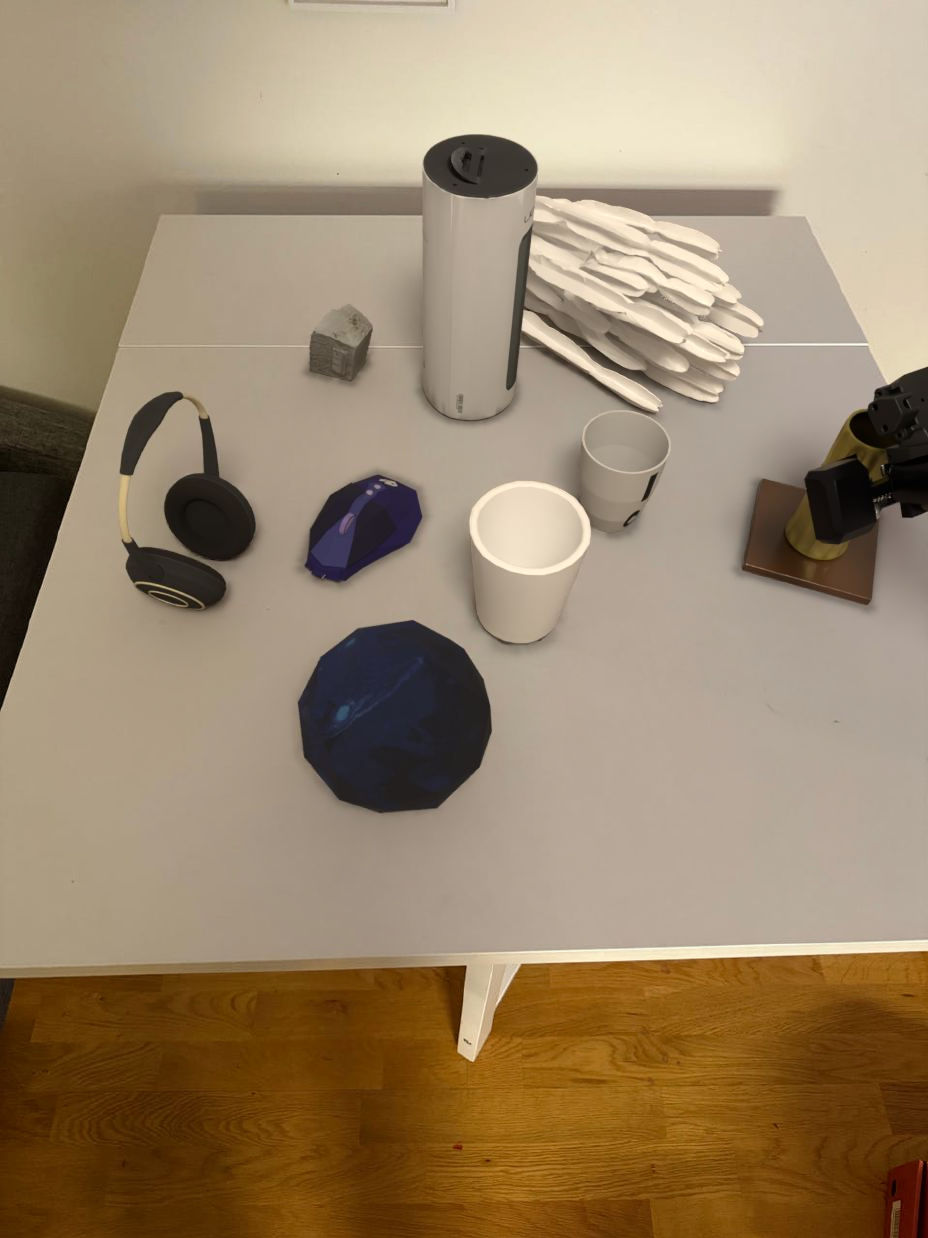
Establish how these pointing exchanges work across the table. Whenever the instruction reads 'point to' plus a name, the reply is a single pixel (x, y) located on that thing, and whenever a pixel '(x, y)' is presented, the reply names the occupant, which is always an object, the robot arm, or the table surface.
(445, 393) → the speaker
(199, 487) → the headphones
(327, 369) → the grey stone block
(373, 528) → the computer mouse
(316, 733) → the decorative orb
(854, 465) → the robot arm
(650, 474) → the cup
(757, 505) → the serving board
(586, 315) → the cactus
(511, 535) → the cup
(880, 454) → the vase
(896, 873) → the table surface
